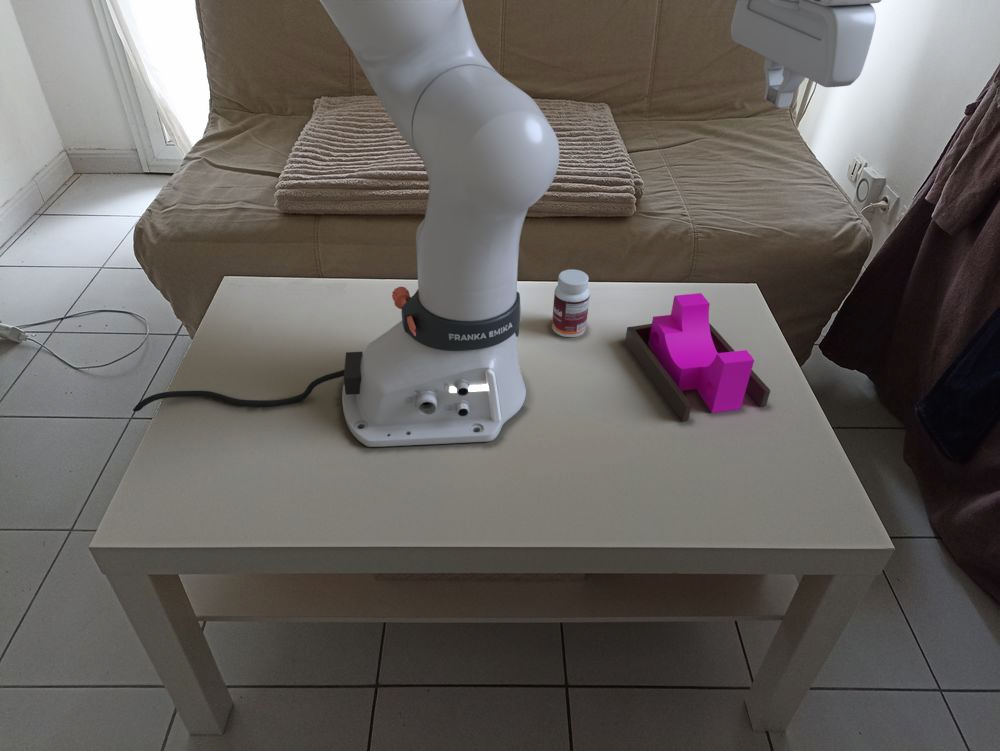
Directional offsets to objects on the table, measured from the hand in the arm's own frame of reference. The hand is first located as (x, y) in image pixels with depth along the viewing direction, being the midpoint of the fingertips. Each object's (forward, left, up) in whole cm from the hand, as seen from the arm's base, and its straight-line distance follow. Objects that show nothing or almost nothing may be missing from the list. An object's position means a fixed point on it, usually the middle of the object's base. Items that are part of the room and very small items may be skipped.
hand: (776, 103), depth 87 cm
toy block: (-9, -9, -32) cm, 34 cm away
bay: (-9, -8, -31) cm, 34 cm away
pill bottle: (-21, +5, -32) cm, 38 cm away
